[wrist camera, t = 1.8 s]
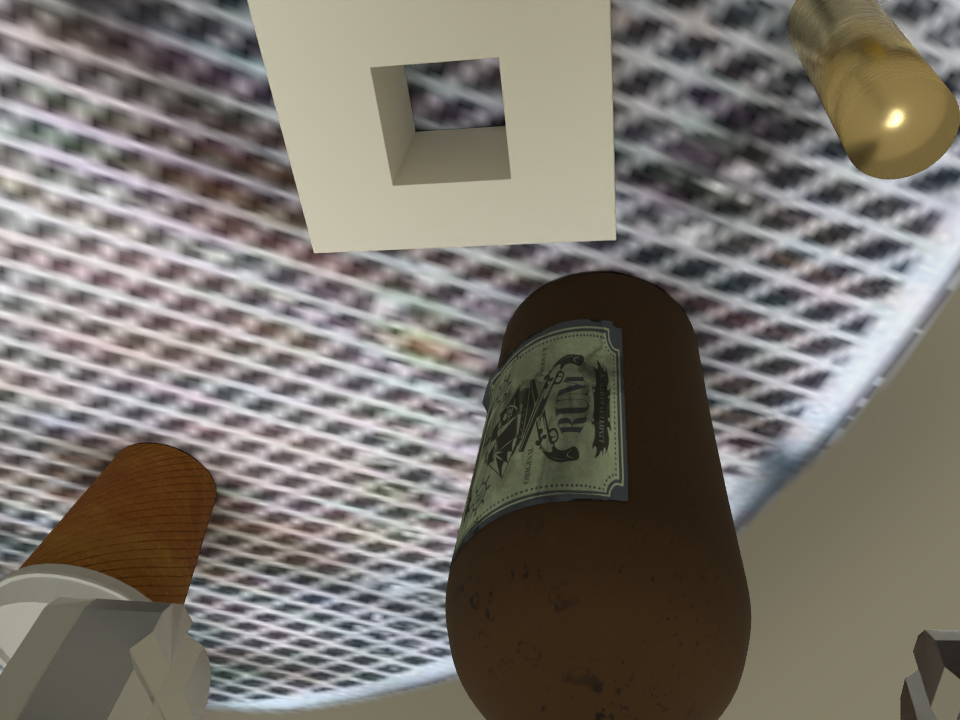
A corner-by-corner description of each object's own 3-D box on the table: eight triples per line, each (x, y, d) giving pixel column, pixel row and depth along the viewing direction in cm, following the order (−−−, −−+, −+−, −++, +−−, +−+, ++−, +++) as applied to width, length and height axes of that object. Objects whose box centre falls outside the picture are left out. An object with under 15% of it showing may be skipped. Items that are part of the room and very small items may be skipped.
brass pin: (791, -19, 32) (852, 81, 24) (879, -27, 31) (970, 73, 24) (784, 63, 34) (838, 182, 26) (867, 57, 33) (947, 176, 25)
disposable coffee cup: (264, 532, 54) (192, 711, 45) (125, 536, 56) (28, 709, 47) (210, 416, 49) (116, 594, 39) (58, 425, 51) (-67, 596, 41)
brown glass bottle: (749, 380, 43) (866, 970, 23) (566, 458, 48) (537, 1006, 28) (638, 217, 38) (669, 785, 19) (447, 322, 43) (313, 865, 23)
